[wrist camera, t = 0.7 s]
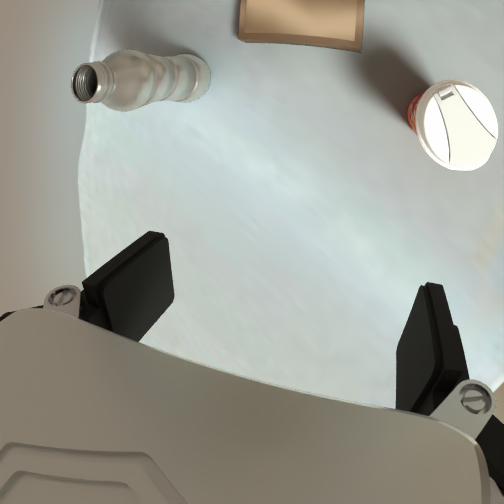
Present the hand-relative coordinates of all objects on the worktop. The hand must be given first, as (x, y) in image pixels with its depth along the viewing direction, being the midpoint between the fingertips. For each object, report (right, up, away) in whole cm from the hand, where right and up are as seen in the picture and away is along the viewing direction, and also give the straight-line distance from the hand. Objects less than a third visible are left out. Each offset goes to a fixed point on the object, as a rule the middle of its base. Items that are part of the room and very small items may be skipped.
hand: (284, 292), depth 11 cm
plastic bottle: (-9, +24, +27) cm, 38 cm away
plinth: (+5, +32, +18) cm, 37 cm away
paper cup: (+20, +17, +20) cm, 33 cm away
